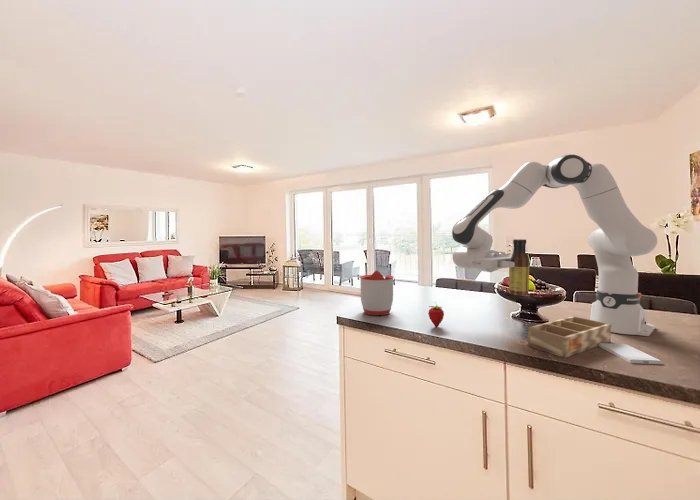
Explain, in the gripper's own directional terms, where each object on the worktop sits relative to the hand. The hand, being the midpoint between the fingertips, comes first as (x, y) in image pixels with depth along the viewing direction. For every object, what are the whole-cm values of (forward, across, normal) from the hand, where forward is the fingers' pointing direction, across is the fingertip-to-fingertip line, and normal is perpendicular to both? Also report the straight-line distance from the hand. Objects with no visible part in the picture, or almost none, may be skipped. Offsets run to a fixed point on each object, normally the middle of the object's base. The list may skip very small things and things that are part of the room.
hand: (521, 264), depth 105 cm
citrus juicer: (-50, -29, +26) cm, 64 cm away
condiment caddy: (+13, +6, +26) cm, 29 cm away
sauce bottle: (-1, 0, +11) cm, 11 cm away
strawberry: (-21, -20, +26) cm, 39 cm away
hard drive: (+26, +12, +26) cm, 39 cm away
